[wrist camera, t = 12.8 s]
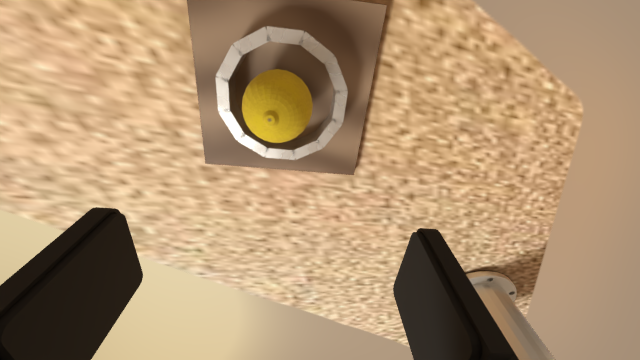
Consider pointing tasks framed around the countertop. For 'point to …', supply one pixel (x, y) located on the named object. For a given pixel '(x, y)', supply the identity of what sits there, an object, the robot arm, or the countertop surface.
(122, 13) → the countertop surface
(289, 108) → the lemon
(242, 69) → the walnut board
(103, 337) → the robot arm
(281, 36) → the steel ring
